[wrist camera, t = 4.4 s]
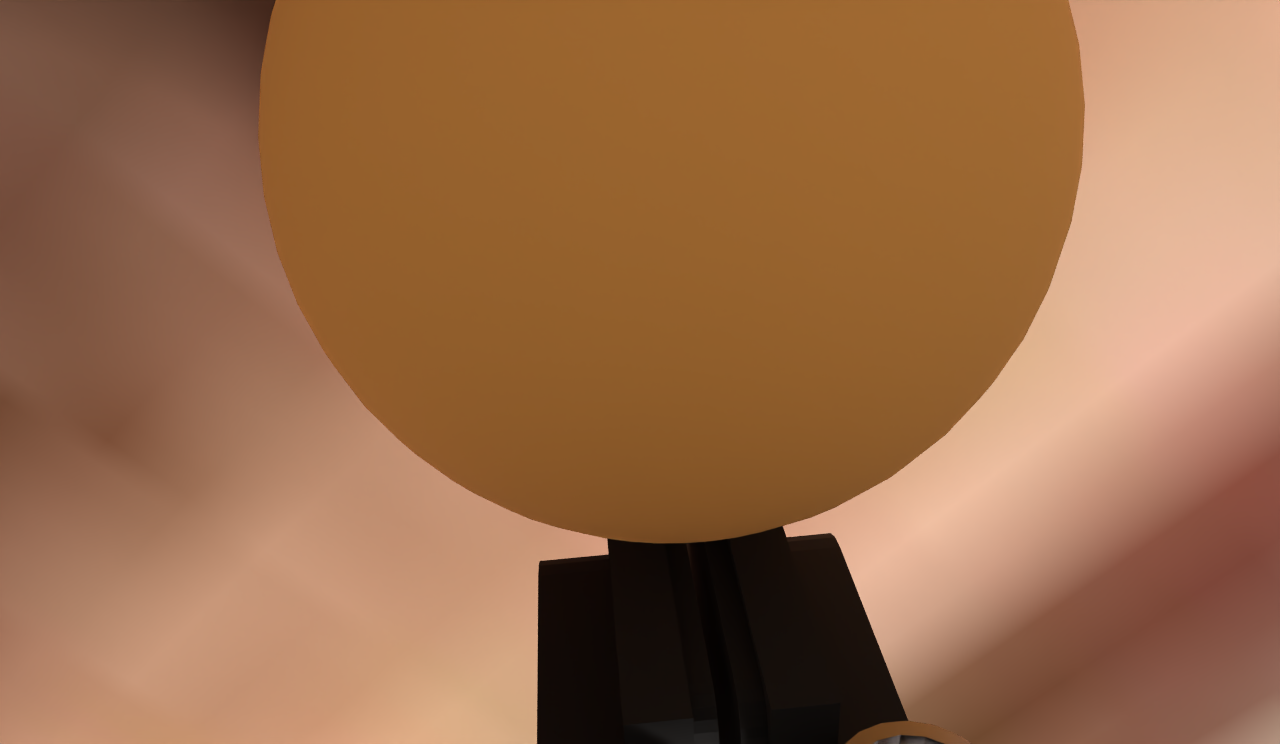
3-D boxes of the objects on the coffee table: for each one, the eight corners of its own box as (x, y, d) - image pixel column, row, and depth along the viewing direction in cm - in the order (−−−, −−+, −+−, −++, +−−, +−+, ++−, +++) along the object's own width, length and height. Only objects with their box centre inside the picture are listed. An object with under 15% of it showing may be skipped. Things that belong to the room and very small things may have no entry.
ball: (253, 784, 6) (-25, -509, 4) (367, 402, 11) (282, -203, 9) (1212, 663, 7) (1438, -479, 4) (877, 357, 12) (906, -211, 10)
